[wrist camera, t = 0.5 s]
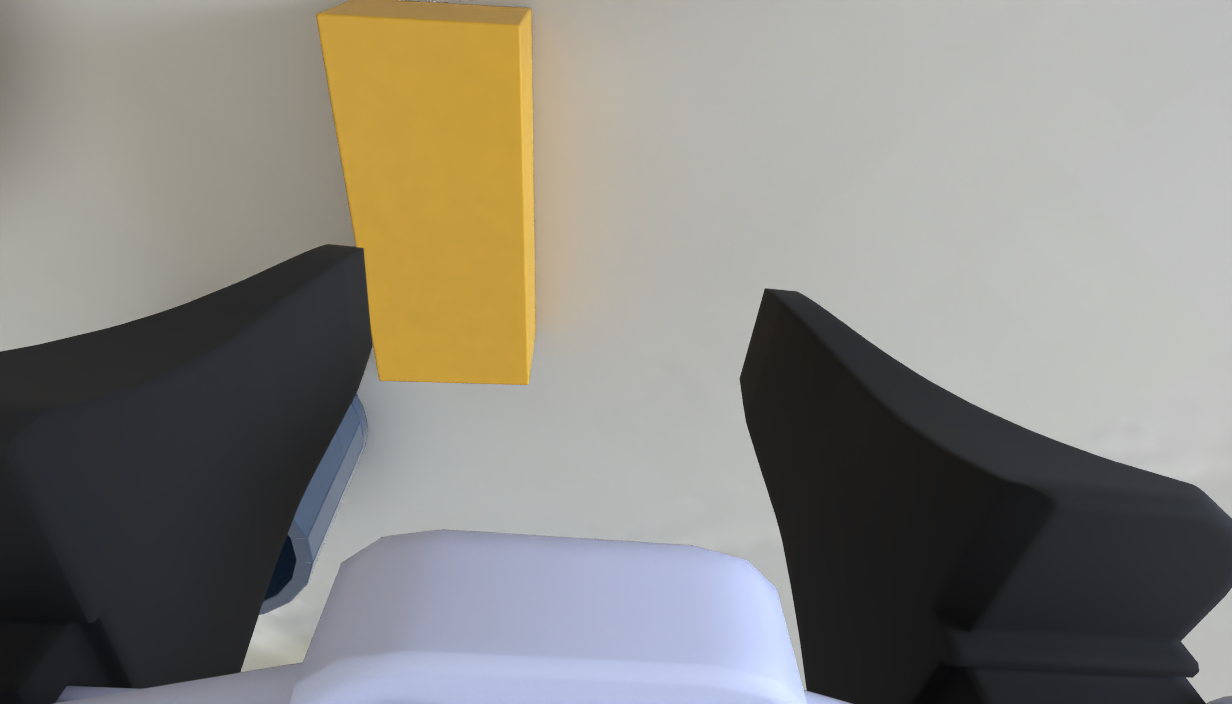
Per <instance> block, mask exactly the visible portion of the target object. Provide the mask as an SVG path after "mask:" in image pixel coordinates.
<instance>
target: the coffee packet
mask: <svg viewBox="0 0 1232 704" xmlns="http://www.w3.org/2000/svg"><path fill="white" fill-rule="evenodd" d="M316 18H317V24H318V30H319V36H320V41H321V47H322V53H323V59H324V64H325V70H326V76H327V82H328V87H329V93H330V99H331V105H332V110H333V116H334V122H335V128H336V134H337V139H338V145H339V151H340V157H341V162H342V168H343V174H344V180H345V185H346V191H347V197H348V203H349V208H350V214H351V220H352V226H353V231H354V237H355V243H356V247H360V248H364V258H365V269H366V280H367V292H368V303H369V314H370V326H371V335H372V341H373V347H374V352H375V358H376V364H377V370H378V376H379V380H380V381H408V382H444V383H479V384H515V385H528V383H529V377H530V370H531V363H532V356H533V349H534V341H535V334H536V322H535V248H534V174H533V100H532V26H531V9H530V8H521V7H503V6H486V5H469V4H451V3H434V2H416V1H399V0H351V1H348V2H346V3H343V4H340V5H338V6H335V7H333V8H330V9H328V10H325V11H322V12H320V13H317V14H316Z"/></svg>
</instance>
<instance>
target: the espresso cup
mask: <svg viewBox="0 0 1232 704" xmlns="http://www.w3.org/2000/svg"><path fill="white" fill-rule="evenodd" d="M366 439H367V422H366V416H365V413H364V410H363V407H362V405H361V403H360V401H359V399H358V397H357V395H355V397H354V399H353V401H352V403H351V405H350V407H349V408H348V410H347V412H346V414H345V416H344V418H343V420H342V422H341V424H340V426H339V428H338V430H337V432H336V433H335V435H334V437H333V439H332V441H331V443H330V445H329V447H328V449H327V450H326V452H325V454H324V456H323V458H322V460H321V462H320V464H319V466H318V468H317V469H316V471H315V473H314V475H313V477H312V479H311V481H310V483H309V485H308V487H307V489H306V491H305V493H304V495H303V497H302V500H301V502H300V504H299V506H298V508H297V511H296V513H295V516H294V519H293V521H292V524H291V527H290V529H289V532H288V535H287V537H286V540H285V542H284V545H283V548H282V550H281V553H280V556H279V558H278V561H277V564H276V567H275V570H274V572H273V575H272V578H271V581H270V584H269V587H268V590H267V592H266V595H265V598H264V601H263V604H262V607H261V609H260V612H259V615H261V614H265V613H268V612H270V611H272V610H274V609H276V608H278V607H281V606H283V605H285V604H287V603H289V602H290V601H292V600H293V599H294V598H295V597H296V596H297V595H298V593H299V592H300V591H301V590H302V589H303V588H304V587H305V586H306V585H307V583H308V582H309V579H310V577H311V575H312V572H313V570H314V568H315V565H316V563H317V561H318V558H319V556H320V553H321V551H322V549H323V546H324V544H325V542H326V539H327V537H328V535H329V532H330V530H331V528H332V525H333V523H334V520H335V518H336V516H337V513H338V511H339V509H340V506H341V504H342V502H343V499H344V497H345V494H346V492H347V490H348V487H349V485H350V483H351V480H352V478H353V476H354V473H355V471H356V468H357V466H358V464H359V460H360V457H361V454H362V452H363V449H364V447H365V444H366Z"/></svg>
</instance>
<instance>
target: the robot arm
mask: <svg viewBox="0 0 1232 704" xmlns="http://www.w3.org/2000/svg"><path fill="white" fill-rule="evenodd" d="M371 349H372V337H371V326H370V314H369V303H368V292H367V280H366V269H365V258H364V248H360V247H350V246H340V245H330V244H327V245H323V246H320V247H317V248H314V249H312V250H309V251H307V252H305V253H302V254H300V255H298V256H295V257H293V258H291V259H289V260H287V261H284V262H282V263H280V264H278V265H276V266H273V267H271V268H269V269H267V270H265V271H262V272H260V273H258V274H256V275H254V276H251V277H249V278H247V279H245V280H243V281H240V282H238V283H236V284H233V285H231V286H228V287H226V288H223V289H221V290H218V291H216V292H213V293H211V294H208V295H206V296H203V297H201V298H199V299H196V300H194V301H191V302H189V303H186V304H183V305H181V306H178V307H175V308H172V309H169V310H166V311H163V312H160V313H157V314H154V315H151V316H148V317H145V318H141V319H138V320H135V321H131V322H128V323H125V324H122V325H118V326H114V327H111V328H107V329H103V330H99V331H94V332H90V333H86V334H82V335H77V336H73V337H69V338H65V339H61V340H56V341H52V342H48V343H44V344H39V345H34V346H29V347H24V348H19V349H13V350H8V351H2V352H0V704H1206V703H1205V702H1204V701H1203V699H1202V698H1201V697H1200V695H1199V694H1198V693H1197V692H1196V690H1195V689H1194V688H1193V686H1192V685H1191V684H1190V682H1189V681H1188V680H1187V679H1186V677H1192V678H1193V677H1194V676H1195V675H1196V674H1197V673H1198V672H1199V666H1198V663H1197V661H1196V660H1195V659H1194V658H1193V656H1192V655H1191V654H1190V653H1189V651H1188V650H1187V649H1186V648H1185V646H1184V645H1183V644H1182V643H1181V640H1182V639H1183V638H1184V637H1185V636H1186V635H1187V634H1188V633H1189V632H1190V631H1191V630H1192V629H1193V628H1194V627H1195V626H1196V625H1197V624H1198V623H1199V622H1200V621H1201V620H1202V619H1203V618H1204V617H1205V616H1206V615H1207V614H1208V613H1209V612H1210V611H1211V610H1212V609H1213V608H1214V607H1215V606H1216V605H1217V604H1218V603H1219V602H1220V601H1221V600H1222V599H1223V598H1224V597H1225V596H1226V594H1227V593H1228V592H1229V591H1230V589H1231V588H1232V518H1230V517H1229V516H1228V515H1227V514H1226V513H1225V512H1224V511H1223V510H1222V509H1221V508H1220V507H1219V506H1218V505H1217V504H1216V503H1215V502H1214V501H1213V500H1212V499H1211V498H1210V497H1209V496H1208V495H1207V494H1205V493H1204V492H1203V491H1202V490H1201V489H1199V488H1198V487H1196V486H1194V485H1192V484H1189V483H1186V482H1182V481H1179V480H1176V479H1172V478H1169V477H1166V476H1162V475H1159V474H1155V473H1152V472H1149V471H1145V470H1142V469H1139V468H1135V467H1132V466H1128V465H1125V464H1122V463H1118V462H1115V461H1112V460H1109V459H1106V458H1103V457H1100V456H1097V455H1094V454H1091V453H1089V452H1086V451H1083V450H1080V449H1078V448H1075V447H1072V446H1069V445H1066V444H1064V443H1061V442H1058V441H1056V440H1053V439H1051V438H1048V437H1045V436H1043V435H1040V434H1038V433H1035V432H1033V431H1030V430H1028V429H1026V428H1023V427H1021V426H1019V425H1017V424H1014V423H1012V422H1010V421H1008V420H1005V419H1003V418H1001V417H999V416H996V415H994V414H992V413H990V412H988V411H986V410H984V409H982V408H979V407H977V406H975V405H973V404H971V403H969V402H967V401H965V400H964V399H962V398H960V397H958V396H956V395H954V394H952V393H951V392H949V391H947V390H945V389H943V388H941V387H940V386H938V385H936V384H934V383H932V382H931V381H929V380H927V379H926V378H924V377H922V376H920V375H919V374H917V373H916V372H914V371H913V370H911V369H909V368H908V367H906V366H905V365H903V364H902V363H900V362H899V361H897V360H895V359H894V358H892V357H891V356H889V355H888V354H886V353H885V352H883V351H882V350H881V349H879V348H878V347H876V346H875V345H873V344H872V343H871V342H869V341H868V340H866V339H865V338H864V337H862V336H861V335H859V334H858V333H857V332H855V331H854V330H853V329H851V328H850V327H848V326H847V325H846V324H844V323H843V322H842V321H840V320H839V319H838V318H836V317H835V316H834V315H832V314H831V313H829V312H828V311H827V310H825V309H824V308H823V307H821V306H820V305H818V304H817V303H815V302H814V301H812V300H811V299H809V298H808V297H806V296H804V295H803V294H801V293H799V292H796V291H786V290H776V289H766V288H765V290H764V294H763V297H762V301H761V304H760V308H759V312H758V315H757V319H756V322H755V326H754V329H753V333H752V337H751V340H750V344H749V347H748V351H747V354H746V358H745V362H744V365H743V369H742V372H741V376H740V384H741V392H742V399H743V406H744V412H745V418H746V423H747V426H748V430H749V433H750V436H751V440H752V443H753V446H754V449H755V453H756V456H757V459H758V462H759V465H760V468H761V472H762V475H763V478H764V481H765V484H766V487H767V490H768V493H769V497H770V500H771V503H772V506H773V509H774V512H775V515H776V519H777V522H778V526H779V530H780V534H781V537H782V542H783V547H784V552H785V557H786V562H787V568H788V573H789V578H790V583H791V589H792V595H793V601H794V607H795V613H796V619H797V625H798V631H799V637H800V644H801V651H802V659H803V666H804V673H805V680H806V688H807V691H806V690H803V686H802V683H801V679H800V675H799V671H798V668H797V664H796V660H795V656H794V653H793V649H792V645H791V641H790V638H789V634H788V630H787V626H786V623H785V619H784V615H783V612H782V608H781V604H780V600H779V597H778V593H777V589H776V588H775V587H774V586H773V585H772V584H771V583H770V582H769V581H768V580H767V579H766V578H765V577H764V576H763V575H762V574H761V573H760V572H759V571H758V570H757V569H756V568H755V567H754V566H753V565H752V564H750V563H749V562H748V561H747V560H745V559H742V558H738V557H735V556H731V555H727V554H723V553H719V552H715V551H712V550H708V549H704V548H700V547H696V546H692V545H680V544H664V543H649V542H633V541H618V540H602V539H586V538H571V537H555V536H540V535H524V534H509V533H493V532H477V531H462V530H446V529H442V530H433V531H425V532H416V533H408V534H399V535H391V536H386V537H381V538H380V539H378V540H377V541H375V542H373V543H372V544H370V545H369V546H367V547H366V548H364V549H363V550H361V551H359V552H358V553H356V554H355V555H353V556H352V557H350V558H349V559H347V560H345V561H344V562H342V563H341V565H340V568H339V571H338V573H337V576H336V578H335V581H334V584H333V586H332V589H331V591H330V594H329V597H328V599H327V602H326V604H325V607H324V609H323V612H322V615H321V617H320V620H319V622H318V625H317V628H316V630H315V633H314V635H313V638H312V641H311V643H310V646H309V648H308V651H307V654H306V656H305V659H304V661H303V662H302V663H296V664H290V665H284V666H278V667H272V668H266V669H259V670H253V671H247V672H241V673H240V671H241V668H242V665H243V662H244V659H245V656H246V653H247V650H248V647H249V643H250V640H251V637H252V634H253V631H254V628H255V625H256V622H257V619H258V615H259V612H260V609H261V607H262V604H263V601H264V598H265V595H266V592H267V590H268V587H269V584H270V581H271V578H272V575H273V572H274V570H275V567H276V564H277V561H278V558H279V556H280V553H281V550H282V548H283V545H284V542H285V540H286V537H287V535H288V532H289V529H290V527H291V524H292V521H293V519H294V516H295V513H296V511H297V508H298V506H299V504H300V502H301V500H302V497H303V495H304V493H305V491H306V489H307V487H308V485H309V483H310V481H311V479H312V477H313V475H314V473H315V471H316V469H317V468H318V466H319V464H320V462H321V460H322V458H323V456H324V454H325V452H326V450H327V449H328V447H329V445H330V443H331V441H332V439H333V437H334V435H335V433H336V432H337V430H338V428H339V426H340V424H341V422H342V420H343V418H344V416H345V414H346V412H347V410H348V408H349V407H350V405H351V403H352V401H353V399H354V397H355V395H356V393H357V391H358V388H359V385H360V382H361V379H362V377H363V374H364V371H365V368H366V365H367V361H368V358H369V355H370V352H371ZM1207 704H1232V696H1228V697H1222V698H1219V699H1216V700H1213V701H1210V702H1208V703H1207Z"/></svg>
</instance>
